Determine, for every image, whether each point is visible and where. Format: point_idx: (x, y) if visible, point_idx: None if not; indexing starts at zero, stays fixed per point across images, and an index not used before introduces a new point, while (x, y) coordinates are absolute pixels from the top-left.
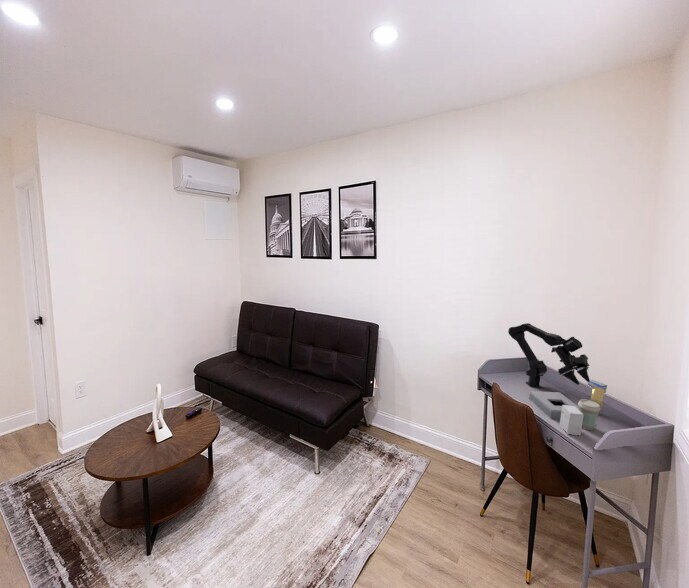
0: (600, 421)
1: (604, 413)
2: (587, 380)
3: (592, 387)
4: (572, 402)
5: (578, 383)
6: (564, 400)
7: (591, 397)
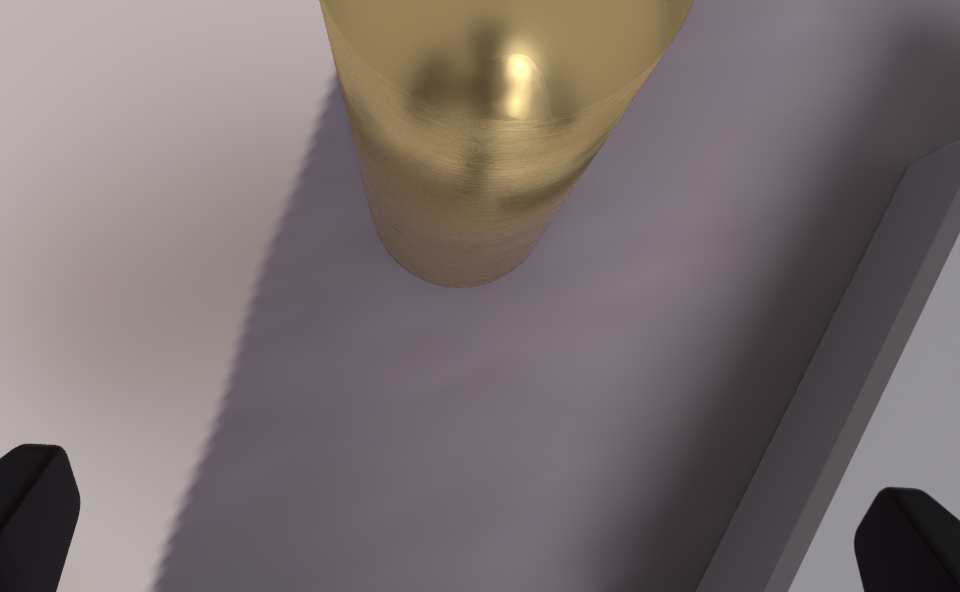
0: (695, 17)
1: (330, 102)
2: (52, 543)
3: (610, 92)
4: (876, 427)
5: (936, 518)
6: None
7: (583, 170)
